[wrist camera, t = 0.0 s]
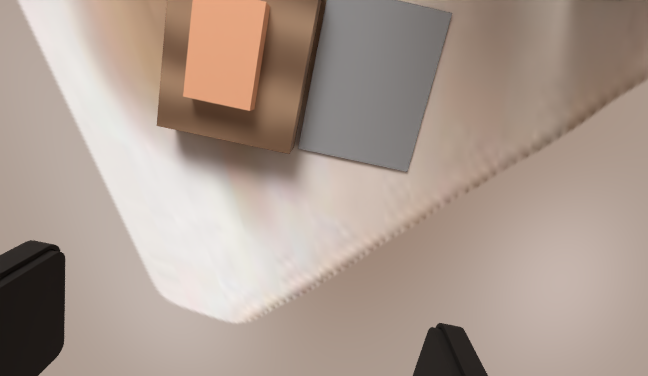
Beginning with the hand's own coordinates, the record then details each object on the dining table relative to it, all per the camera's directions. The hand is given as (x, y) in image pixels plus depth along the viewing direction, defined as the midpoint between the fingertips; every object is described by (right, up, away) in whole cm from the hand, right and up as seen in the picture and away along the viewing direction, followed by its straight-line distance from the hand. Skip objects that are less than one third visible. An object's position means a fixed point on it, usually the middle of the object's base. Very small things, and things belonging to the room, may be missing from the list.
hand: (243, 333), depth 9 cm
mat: (+7, +14, +28) cm, 32 cm away
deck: (-6, +17, +28) cm, 33 cm away
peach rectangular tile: (-7, +16, +24) cm, 29 cm away
